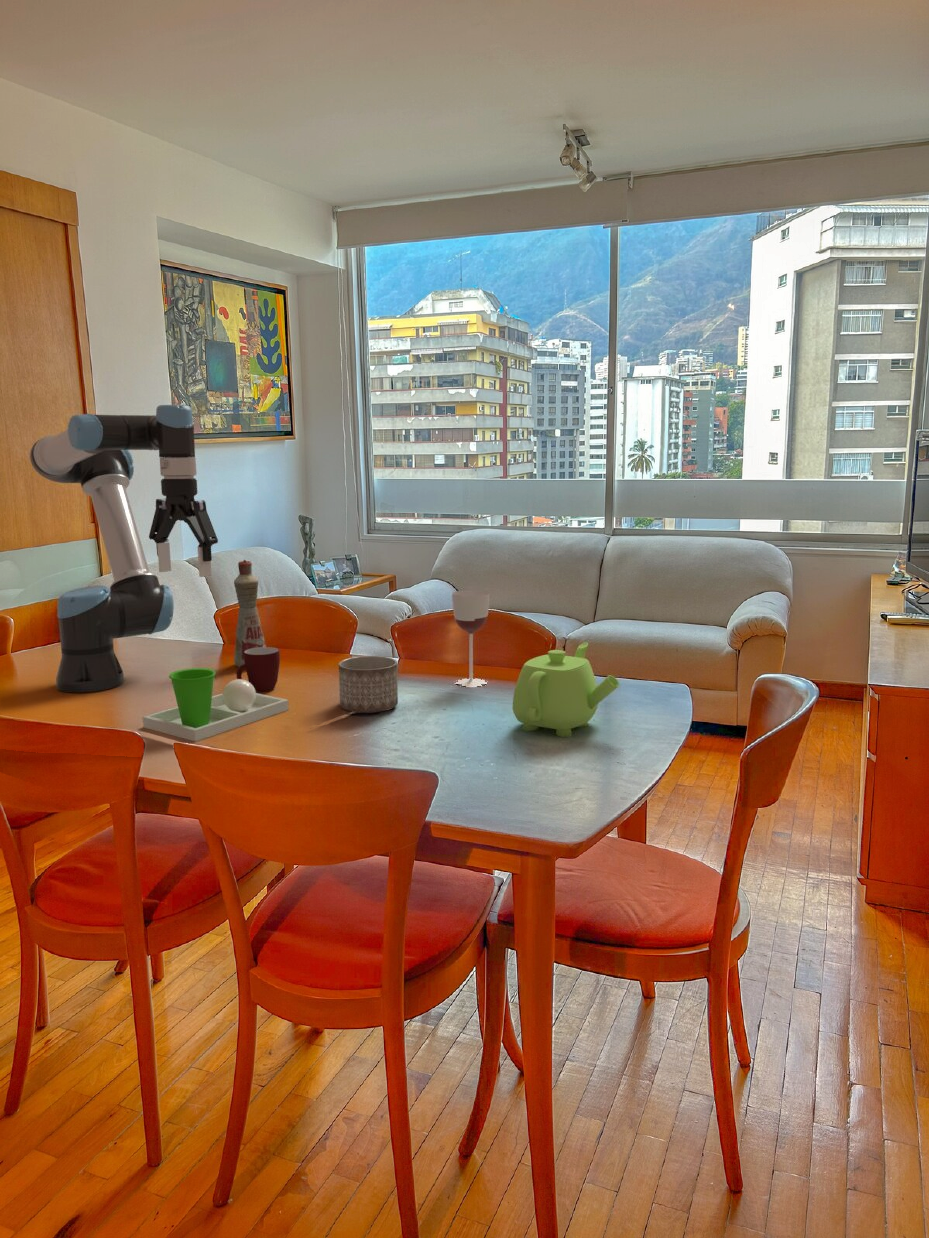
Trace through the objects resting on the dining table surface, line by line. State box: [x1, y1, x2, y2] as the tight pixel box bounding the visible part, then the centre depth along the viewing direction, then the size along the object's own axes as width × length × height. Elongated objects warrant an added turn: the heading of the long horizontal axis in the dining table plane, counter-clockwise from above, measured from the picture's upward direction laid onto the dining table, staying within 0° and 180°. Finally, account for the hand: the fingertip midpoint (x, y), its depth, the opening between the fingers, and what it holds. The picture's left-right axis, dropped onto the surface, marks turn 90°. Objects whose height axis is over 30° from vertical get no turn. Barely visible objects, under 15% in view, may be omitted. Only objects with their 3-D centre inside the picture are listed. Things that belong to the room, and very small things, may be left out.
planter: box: [338, 655, 399, 714], centre depth 197 cm, size 13×13×10 cm
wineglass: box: [451, 589, 490, 688], centre depth 216 cm, size 9×10×22 cm
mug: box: [236, 646, 281, 693], centre depth 209 cm, size 10×8×10 cm
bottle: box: [233, 559, 267, 669], centre depth 233 cm, size 9×9×28 cm
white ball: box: [221, 678, 257, 712], centre depth 192 cm, size 7×7×7 cm
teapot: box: [512, 642, 620, 738], centre depth 183 cm, size 25×22×16 cm
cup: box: [168, 667, 217, 728], centre depth 182 cm, size 9×9×11 cm
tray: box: [142, 692, 290, 743], centre depth 188 cm, size 16×25×3 cm, turn 146°
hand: (184, 573), depth 200 cm, fingers open, 13 cm apart
